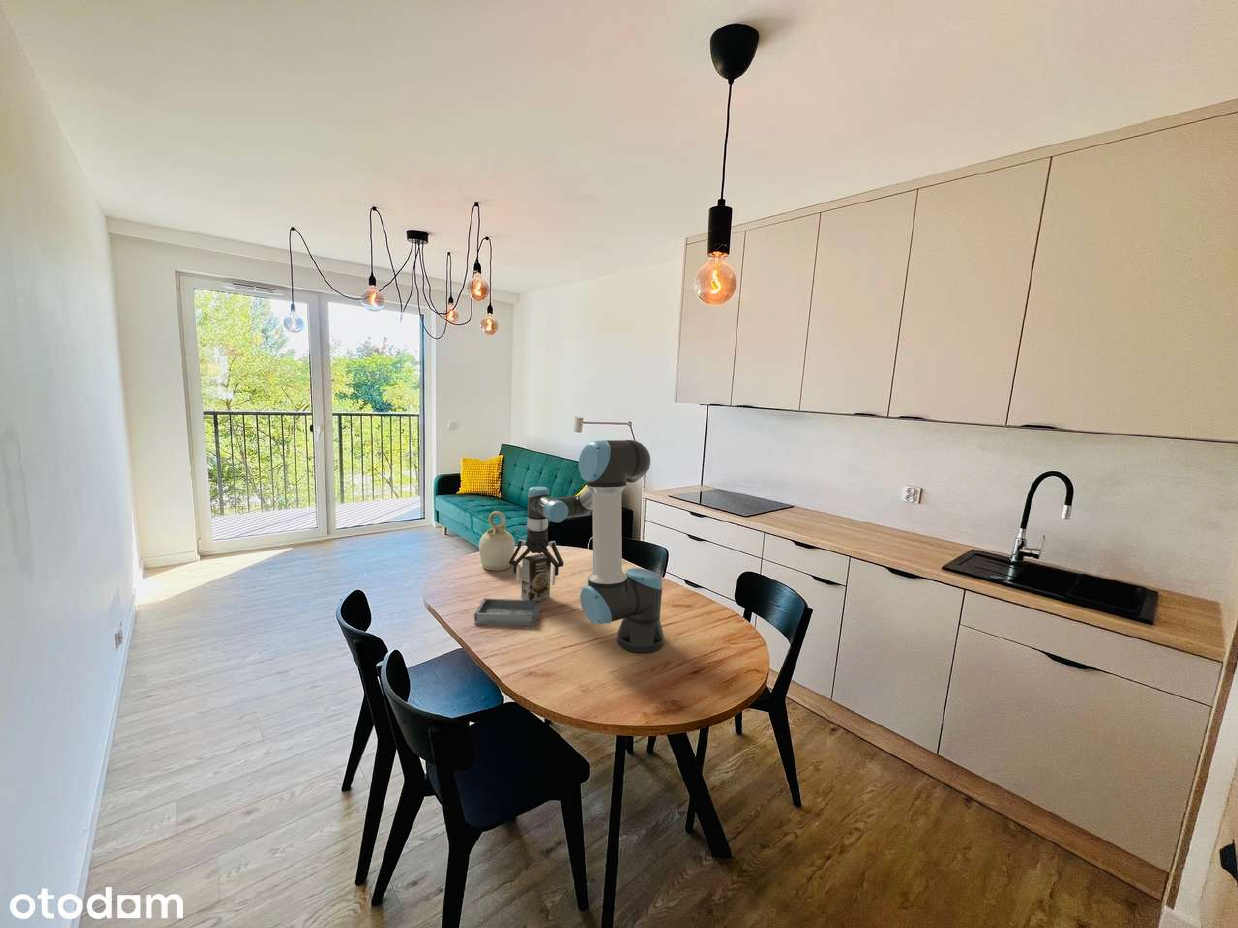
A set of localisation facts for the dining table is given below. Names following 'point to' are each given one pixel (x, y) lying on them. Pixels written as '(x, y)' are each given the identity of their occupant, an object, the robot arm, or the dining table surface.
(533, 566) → the coffee box
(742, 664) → the dining table surface
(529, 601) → the grey shallow tray
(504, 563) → the jug
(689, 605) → the dining table surface
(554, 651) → the dining table surface
